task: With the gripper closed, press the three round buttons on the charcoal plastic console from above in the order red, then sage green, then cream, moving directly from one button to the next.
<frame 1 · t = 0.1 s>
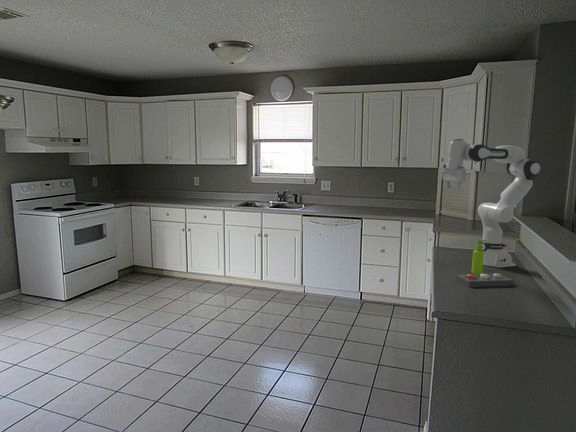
hand: (452, 188, 252), 48 cm above the countertop, tool pointing down, fingers open, 8 cm apart
soap dispenser: (477, 273, 243), on the countertop
button red: (470, 277, 221), point 3 cm above the countertop, slide at 0.0 cm
console: (483, 282, 223), on the countertop
button sage: (497, 277, 224), point 3 cm above the countertop, slide at 0.0 cm
button cream: (484, 277, 223), point 3 cm above the countertop, slide at 0.0 cm
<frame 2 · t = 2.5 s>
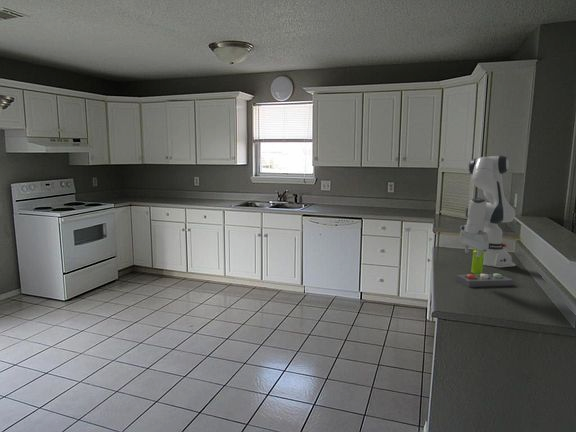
hand: (472, 254, 220), 16 cm above the countertop, tool pointing down, fingers open, 8 cm apart
nothing on the countertop moved.
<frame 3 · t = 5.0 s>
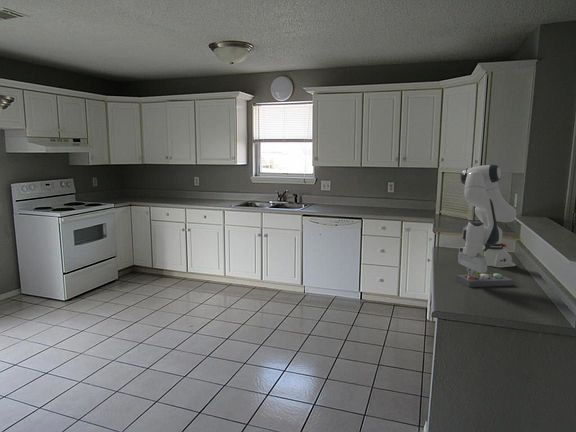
hand: (470, 276, 221), 4 cm above the countertop, tool pointing down, fingers closed, pressing on button red
button red: (470, 279, 222), point 2 cm above the countertop, slide at 0.9 cm, touching gripper
everything else where it was.
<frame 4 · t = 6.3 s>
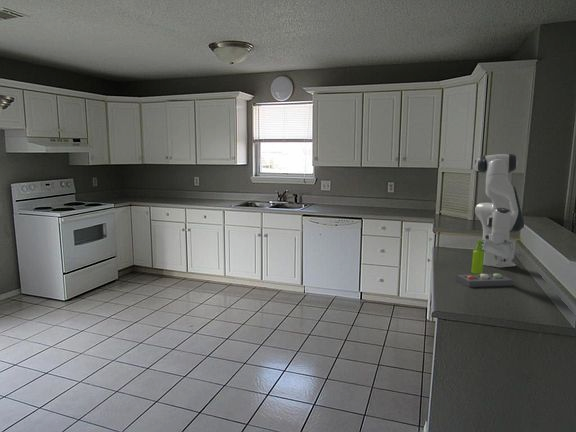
hand: (497, 263, 223), 11 cm above the countertop, tool pointing down, fingers closed
button red: (470, 279, 222), point 2 cm above the countertop, slide at 0.9 cm
everything else where it was.
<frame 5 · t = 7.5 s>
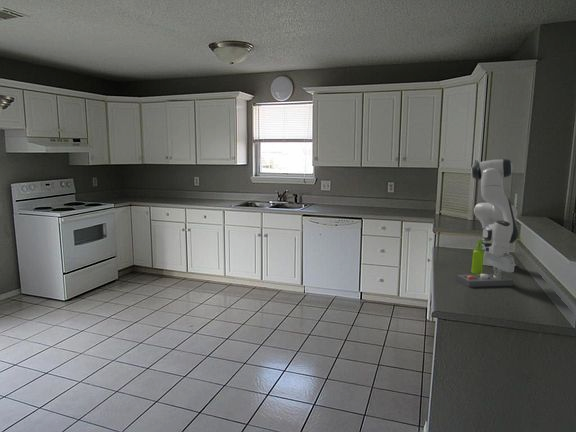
hand: (497, 275, 224), 4 cm above the countertop, tool pointing down, fingers closed, pressing on button sage
button sage: (497, 278, 225), point 2 cm above the countertop, slide at 0.9 cm, touching gripper
everything else where it was.
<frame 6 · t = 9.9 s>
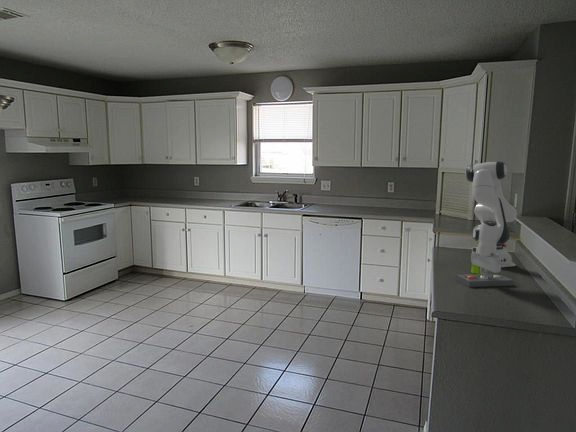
hand: (484, 276, 223), 4 cm above the countertop, tool pointing down, fingers closed, pressing on button cream
button sage: (497, 278, 225), point 2 cm above the countertop, slide at 0.9 cm
button cream: (484, 279, 223), point 2 cm above the countertop, slide at 0.9 cm, touching gripper
everything else where it was.
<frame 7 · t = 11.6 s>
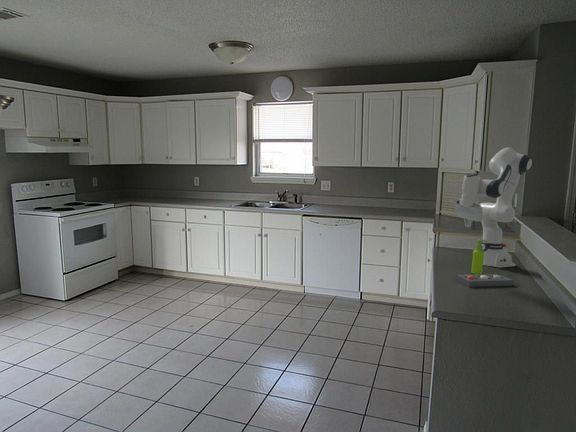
hand: (467, 226, 233), 28 cm above the countertop, tool pointing down, fingers closed
button cream: (484, 279, 223), point 2 cm above the countertop, slide at 0.9 cm
everything else where it was.
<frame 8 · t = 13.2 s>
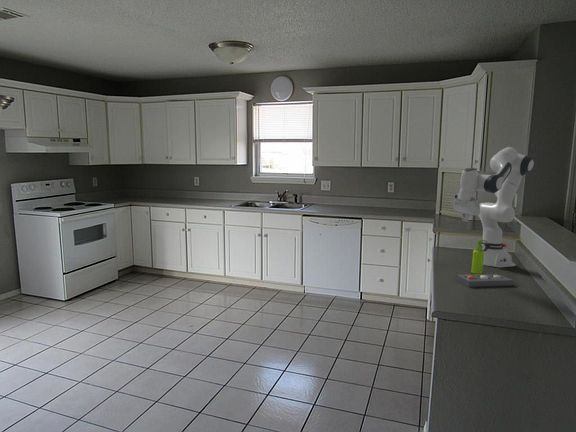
hand: (465, 221, 235), 31 cm above the countertop, tool pointing down, fingers closed
nothing on the countertop moved.
at the end: button red slide at 0.9 cm; button sage slide at 0.9 cm; button cream slide at 0.9 cm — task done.
